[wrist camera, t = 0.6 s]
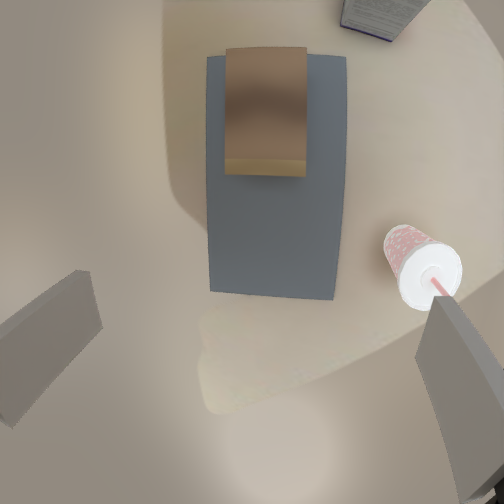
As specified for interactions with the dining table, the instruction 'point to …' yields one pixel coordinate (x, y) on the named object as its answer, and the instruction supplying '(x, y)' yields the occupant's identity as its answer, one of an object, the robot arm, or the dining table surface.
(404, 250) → the beverage cup
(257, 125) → the walnut block
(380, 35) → the supplement box
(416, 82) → the dining table surface
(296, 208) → the slate mat
